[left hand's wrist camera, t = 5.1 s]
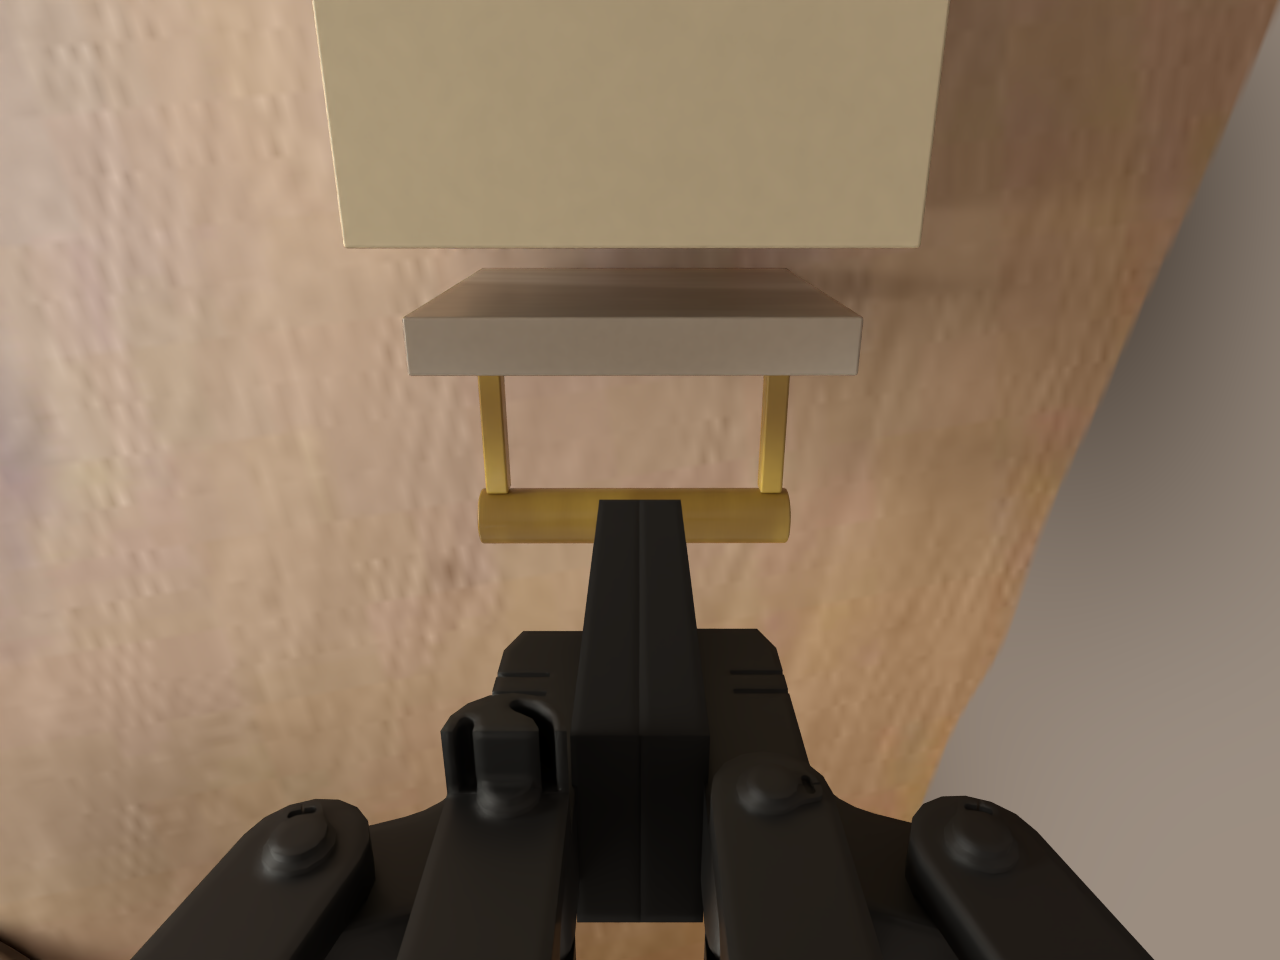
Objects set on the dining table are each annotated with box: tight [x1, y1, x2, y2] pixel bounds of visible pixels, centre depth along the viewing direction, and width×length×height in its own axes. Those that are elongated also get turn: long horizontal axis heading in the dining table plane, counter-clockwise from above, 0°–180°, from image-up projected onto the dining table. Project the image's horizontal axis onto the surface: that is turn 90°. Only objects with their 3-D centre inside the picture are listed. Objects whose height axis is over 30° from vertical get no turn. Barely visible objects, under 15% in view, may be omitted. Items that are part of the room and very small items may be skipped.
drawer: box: [402, 268, 863, 543], centre depth 18 cm, size 22×9×9 cm, turn 0°
